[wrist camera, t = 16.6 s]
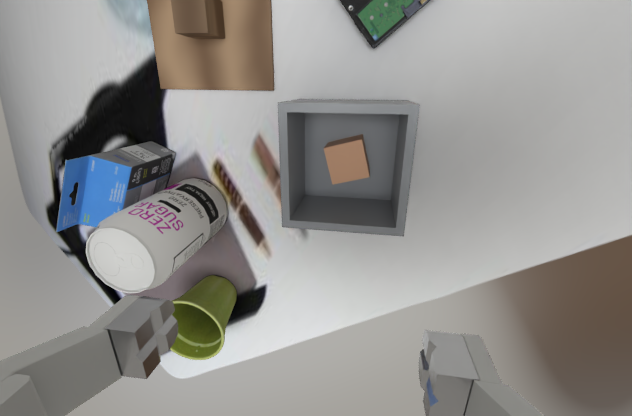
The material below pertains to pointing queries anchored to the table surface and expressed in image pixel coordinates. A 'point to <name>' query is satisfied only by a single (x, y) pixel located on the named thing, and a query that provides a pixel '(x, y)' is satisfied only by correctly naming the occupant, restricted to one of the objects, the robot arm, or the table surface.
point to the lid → (213, 44)
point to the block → (347, 159)
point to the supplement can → (155, 235)
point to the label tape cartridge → (112, 182)
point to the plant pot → (203, 318)
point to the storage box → (353, 196)
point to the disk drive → (381, 16)
